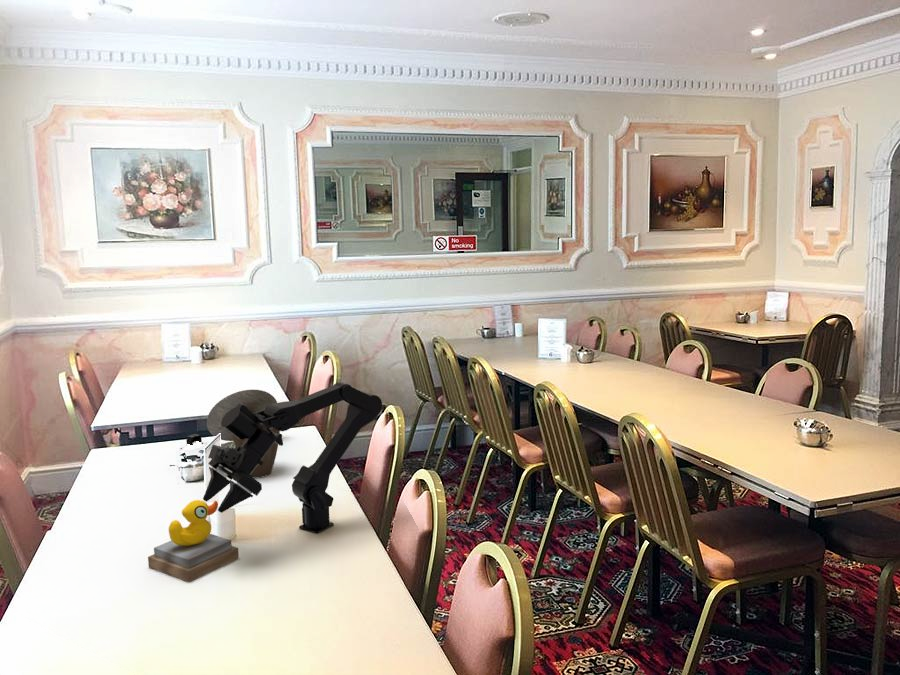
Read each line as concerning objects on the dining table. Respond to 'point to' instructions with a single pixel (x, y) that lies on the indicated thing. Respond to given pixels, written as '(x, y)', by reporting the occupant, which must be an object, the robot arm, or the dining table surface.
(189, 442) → the black block
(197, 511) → the duckling
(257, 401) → the grey brimmed hat
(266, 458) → the plant pot
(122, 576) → the dining table surface
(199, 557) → the metal-topped wooden square
